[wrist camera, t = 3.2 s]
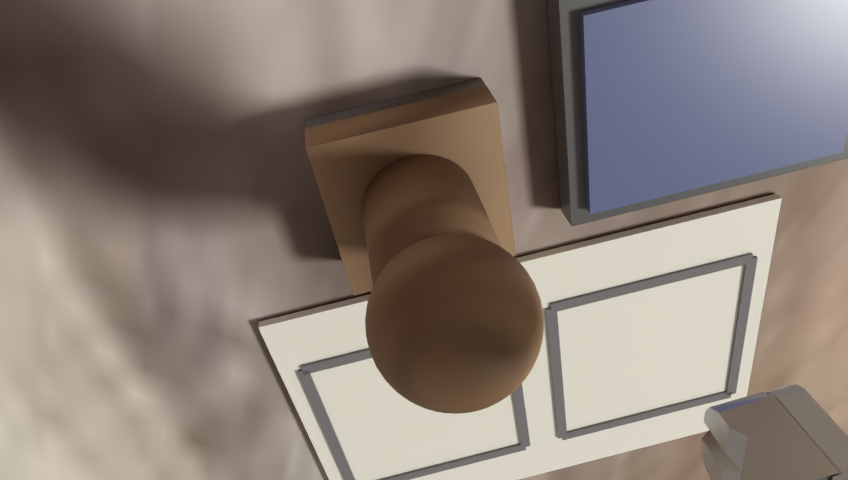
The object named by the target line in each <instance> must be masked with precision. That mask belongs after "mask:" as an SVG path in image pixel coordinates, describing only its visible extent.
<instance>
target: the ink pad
mask: <svg viewBox="0 0 848 480" xmlns="http://www.w3.org/2000/svg"><path fill="white" fill-rule="evenodd" d="M547 11H548V26H549V41H550V56H551V71H552V86H553V100H554V115H555V130H556V145H557V160H558V175H559V190H560V205H561V211H562V212H563V214H564V215H565V217H566V219H567V220H568V222H569V223H570V225H571V226H575V225H579V224H583V223H587V222H591V221H596V220H600V219H604V218H608V217H612V216H616V215H620V214H624V213H628V212H632V211H636V210H640V209H644V208H648V207H652V206H656V205H660V204H664V203H668V202H673V201H677V200H681V199H685V198H689V197H693V196H697V195H701V194H705V193H709V192H713V191H717V190H721V189H725V188H729V187H733V186H737V185H741V184H745V183H750V182H754V181H758V180H762V179H766V178H770V177H774V176H778V175H782V174H786V173H790V172H794V171H798V170H802V169H806V168H810V167H814V166H818V165H822V164H826V163H831V162H835V161H839V160H843V159H847V158H848V0H547Z"/></svg>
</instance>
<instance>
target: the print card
mask: <svg viewBox="0 0 848 480" xmlns="http://www.w3.org/2000/svg"><path fill="white" fill-rule="evenodd" d="M781 199H782V198H781V197H780V196H779V195H777V194H772V195H768V196H764V197H760V198H756V199H752V200H748V201H744V202H740V203H736V204H732V205H728V206H724V207H720V208H716V209H712V210H708V211H704V212H700V213H696V214H692V215H688V216H684V217H680V218H675V219H671V220H667V221H663V222H659V223H655V224H651V225H647V226H643V227H639V228H635V229H631V230H627V231H623V232H619V233H615V234H611V235H607V236H603V237H599V238H595V239H591V240H587V241H583V242H579V243H574V244H570V245H566V246H562V247H558V248H554V249H550V250H546V251H542V252H538V253H534V254H530V255H526V256H522V257H518V258H516V259H517V260H518V261H519V262H520V264H521V265H522V266H523V267H524V268H525V269H526V271H527V272H528V274H529V275H530V277H531V279H532V280H533V282H534V284H535V286H536V289H537V291H538V294H539V297H540V299H541V304H542V309H543V315H544V334H543V340H542V345H541V349H540V352H539V355H538V358H537V360H536V362H535V364H534V366H533V368H532V370H531V372H530V373H529V375H528V376H527V377H526V379H525V380H524V381H523V382H522V384H521V385H520V386H519V387H518V388H517V389H516V390H515V391H514V392H513V393H511V394H510V395H509V396H507V397H506V398H505V399H503V400H501V401H500V402H498V403H496V404H494V405H492V406H490V407H488V408H485V409H482V410H479V411H475V412H470V413H460V414H451V413H441V412H435V411H432V410H428V409H425V408H423V407H420V406H418V405H416V404H414V403H412V402H410V401H409V400H407V399H405V398H404V397H402V396H401V395H400V394H399V393H397V392H396V391H395V390H394V389H393V388H392V387H391V386H390V385H389V384H388V383H387V382H386V381H385V379H384V378H383V376H382V375H381V373H380V372H379V370H378V369H377V367H376V365H375V363H374V361H373V358H372V356H371V354H370V351H369V347H368V343H367V338H366V328H365V316H366V308H367V302H368V299H369V296H370V294H368V295H364V296H360V297H356V298H352V299H348V300H344V301H340V302H336V303H332V304H328V305H324V306H320V307H316V308H312V309H308V310H304V311H300V312H296V313H292V314H288V315H284V316H280V317H276V318H271V319H267V320H263V321H259V326H258V328H259V330H260V332H261V335H262V337H263V339H264V341H265V343H266V345H267V347H268V350H269V352H270V354H271V356H272V358H273V360H274V362H275V365H276V367H277V369H278V371H279V373H280V375H281V377H282V380H283V382H284V384H285V386H286V388H287V390H288V392H289V395H290V397H291V399H292V401H293V403H294V405H295V408H296V410H297V412H298V414H299V416H300V418H301V420H302V423H303V425H304V427H305V429H306V431H307V433H308V435H309V438H310V440H311V442H312V444H313V446H314V448H315V450H316V453H317V455H318V457H319V459H320V461H321V463H322V466H323V468H324V470H325V472H326V474H327V476H328V478H329V480H518V479H522V478H526V477H530V476H534V475H538V474H541V473H545V472H549V471H553V470H557V469H561V468H565V467H569V466H573V465H577V464H580V463H584V462H588V461H592V460H596V459H600V458H604V457H608V456H612V455H616V454H619V453H623V452H627V451H631V450H635V449H639V448H643V447H647V446H651V445H655V444H658V443H662V442H666V441H670V440H674V439H678V438H682V437H686V436H690V435H694V434H697V433H701V432H705V431H709V429H708V427H707V426H706V424H705V423H704V416H705V411H706V410H707V409H708V408H709V407H712V406H715V405H719V404H722V403H726V402H729V401H733V400H736V399H740V398H743V397H747V391H748V386H749V380H750V374H751V369H752V363H753V357H754V352H755V346H756V340H757V335H758V329H759V323H760V318H761V312H762V306H763V301H764V295H765V289H766V284H767V278H768V273H769V267H770V261H771V256H772V250H773V244H774V239H775V233H776V227H777V222H778V216H779V210H780V205H781Z"/></svg>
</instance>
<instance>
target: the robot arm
mask: <svg viewBox="0 0 848 480" xmlns="http://www.w3.org/2000/svg"><path fill="white" fill-rule="evenodd" d="M704 423H705V424H706V426H707V427H708V429H709V431H708V432H707V433H706V434H705V435H704V436H703V438H702V443H701V453H702V457H703V461H704V465H705V468H706V470H707V472H708V474H709V476H710V478H711V480H848V436H847V435H846V434H845V432H844V431H843V430H842V429H841V428H840V427H839V426H838V425H837V424H836V423H835V422H834V420H833V419H832V418H831V417H830V416H829V415H828V414H827V413H826V412H825V411H824V410H823V408H822V407H821V406H820V405H819V404H818V403H817V402H816V401H815V400H814V399H813V398H812V396H811V395H810V394H809V393H808V392H807V391H806V390H805V389H804V388H802V387H800V386H799V385H788V386H785V387H781V388H778V389H774V390H771V391H767V392H760V393H757V394H753V395H750V396H747V397H743V398H740V399H736V400H733V401H729V402H726V403H722V404H719V405H715V406H712V407H709V408H708V409H707V410H706V411H705V416H704Z"/></svg>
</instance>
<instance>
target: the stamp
mask: <svg viewBox="0 0 848 480" xmlns="http://www.w3.org/2000/svg"><path fill="white" fill-rule="evenodd" d="M305 149H306V152H307V155H308V158H309V162H310V165H311V168H312V171H313V174H314V177H315V180H316V183H317V186H318V189H319V192H320V195H321V198H322V201H323V204H324V207H325V210H326V213H327V216H328V219H329V222H330V225H331V228H332V231H333V234H334V237H335V240H336V243H337V246H338V249H339V252H340V255H341V259H342V262H343V265H344V268H345V271H346V274H347V277H348V280H349V283H350V286H351V289H352V292H353V295H358V294H362V293H366V292H370V291H371V293H370V296H369V299H368V302H367V308H366V316H365V328H366V338H367V343H368V347H369V351H370V354H371V356H372V358H373V361H374V363H375V365H376V367H377V369H378V370H379V372H380V373H381V375H382V376H383V378H384V379H385V381H386V382H387V383H388V384H389V385H390V386H391V387H392V388H393V389H394V390H395V391H396V392H397V393H399V394H400V395H401V396H402V397H404V398H405V399H407V400H409V401H410V402H412V403H414V404H416V405H418V406H420V407H423V408H425V409H428V410H432V411H435V412H441V413H451V414H460V413H470V412H475V411H479V410H482V409H485V408H488V407H490V406H492V405H494V404H496V403H498V402H500V401H501V400H503V399H505V398H506V397H507V396H509V395H510V394H511V393H513V392H514V391H515V390H516V389H517V388H518V387H519V386H520V385H521V384H522V382H523V381H524V380H525V379H526V377H527V376H528V375H529V373H530V372H531V370H532V368H533V366H534V364H535V362H536V360H537V358H538V355H539V352H540V349H541V345H542V340H543V334H544V315H543V309H542V304H541V299H540V297H539V294H538V291H537V289H536V286H535V284H534V282H533V280H532V279H531V277H530V275H529V274H528V272H527V271H526V269H525V268H524V267H523V266H522V265H521V264H520V262H519V261H518V260H517V259H516V258H515V257H514V256H515V255H516V253H515V245H514V237H513V229H512V221H511V213H510V205H509V196H508V188H507V180H506V172H505V164H504V156H503V148H502V140H501V132H500V123H499V115H498V107H497V102H496V100H495V99H494V97H493V96H492V94H491V92H490V91H489V89H488V88H487V86H486V85H485V83H484V82H483V80H482V79H481V78H477V79H473V80H469V81H464V82H460V83H456V84H452V85H448V86H444V87H439V88H435V89H431V90H427V91H423V92H419V93H414V94H410V95H406V96H402V97H398V98H394V99H389V100H385V101H381V102H377V103H373V104H369V105H364V106H360V107H356V108H352V109H348V110H344V111H339V112H335V113H331V114H327V115H323V116H319V117H314V118H310V119H306V120H305Z"/></svg>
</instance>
